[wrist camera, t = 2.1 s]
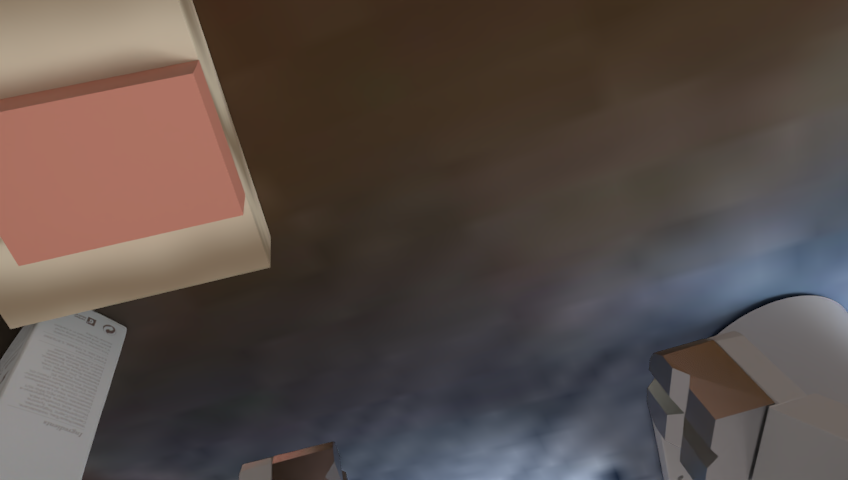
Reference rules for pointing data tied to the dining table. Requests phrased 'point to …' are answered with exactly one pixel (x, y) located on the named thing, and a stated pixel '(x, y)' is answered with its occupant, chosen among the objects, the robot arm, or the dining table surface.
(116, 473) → the dining table surface
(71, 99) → the pink tray
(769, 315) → the robot arm
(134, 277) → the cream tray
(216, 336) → the dining table surface
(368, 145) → the dining table surface
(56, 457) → the skincare box
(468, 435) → the dining table surface
